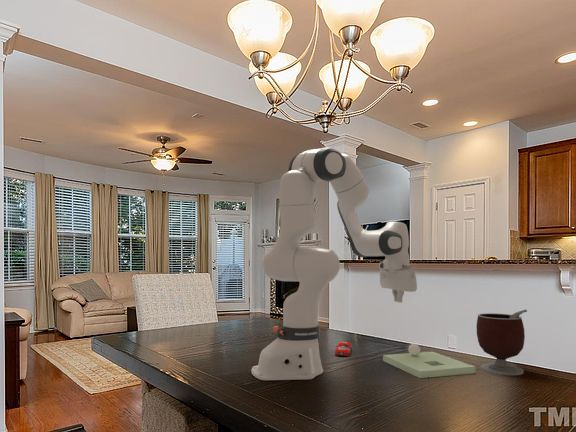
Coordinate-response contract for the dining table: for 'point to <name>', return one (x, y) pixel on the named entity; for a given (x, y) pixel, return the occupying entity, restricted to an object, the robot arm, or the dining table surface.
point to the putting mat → (428, 364)
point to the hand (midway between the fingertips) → (398, 302)
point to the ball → (414, 349)
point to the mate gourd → (501, 340)
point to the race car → (343, 349)
